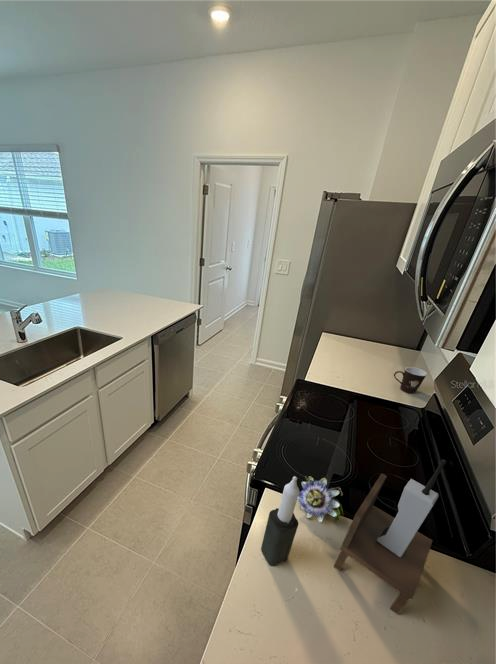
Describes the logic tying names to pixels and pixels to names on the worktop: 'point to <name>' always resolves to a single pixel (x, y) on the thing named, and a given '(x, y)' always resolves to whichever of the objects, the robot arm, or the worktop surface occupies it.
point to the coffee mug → (411, 379)
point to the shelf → (384, 550)
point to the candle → (281, 527)
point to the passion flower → (319, 499)
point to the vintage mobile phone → (410, 514)
